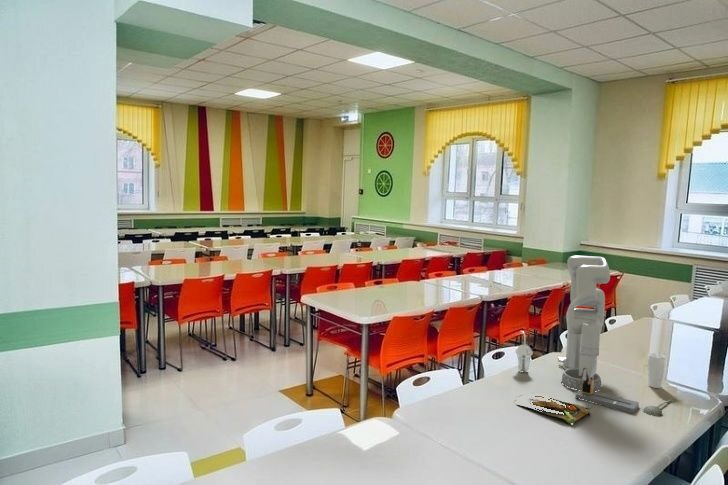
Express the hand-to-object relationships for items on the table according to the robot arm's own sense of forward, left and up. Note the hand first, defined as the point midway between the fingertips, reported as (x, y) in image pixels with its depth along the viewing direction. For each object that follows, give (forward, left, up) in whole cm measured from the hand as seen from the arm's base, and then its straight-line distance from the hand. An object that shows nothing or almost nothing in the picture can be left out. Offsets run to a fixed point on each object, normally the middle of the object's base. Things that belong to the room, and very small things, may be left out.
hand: (587, 390), depth 220 cm
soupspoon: (+27, +9, -4) cm, 28 cm away
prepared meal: (-8, -22, -4) cm, 24 cm away
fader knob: (0, 0, -1) cm, 1 cm away
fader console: (+8, 0, -3) cm, 9 cm away
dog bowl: (-7, +14, -4) cm, 16 cm away
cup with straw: (-35, +13, -3) cm, 37 cm away
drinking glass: (+20, +35, -3) cm, 40 cm away
